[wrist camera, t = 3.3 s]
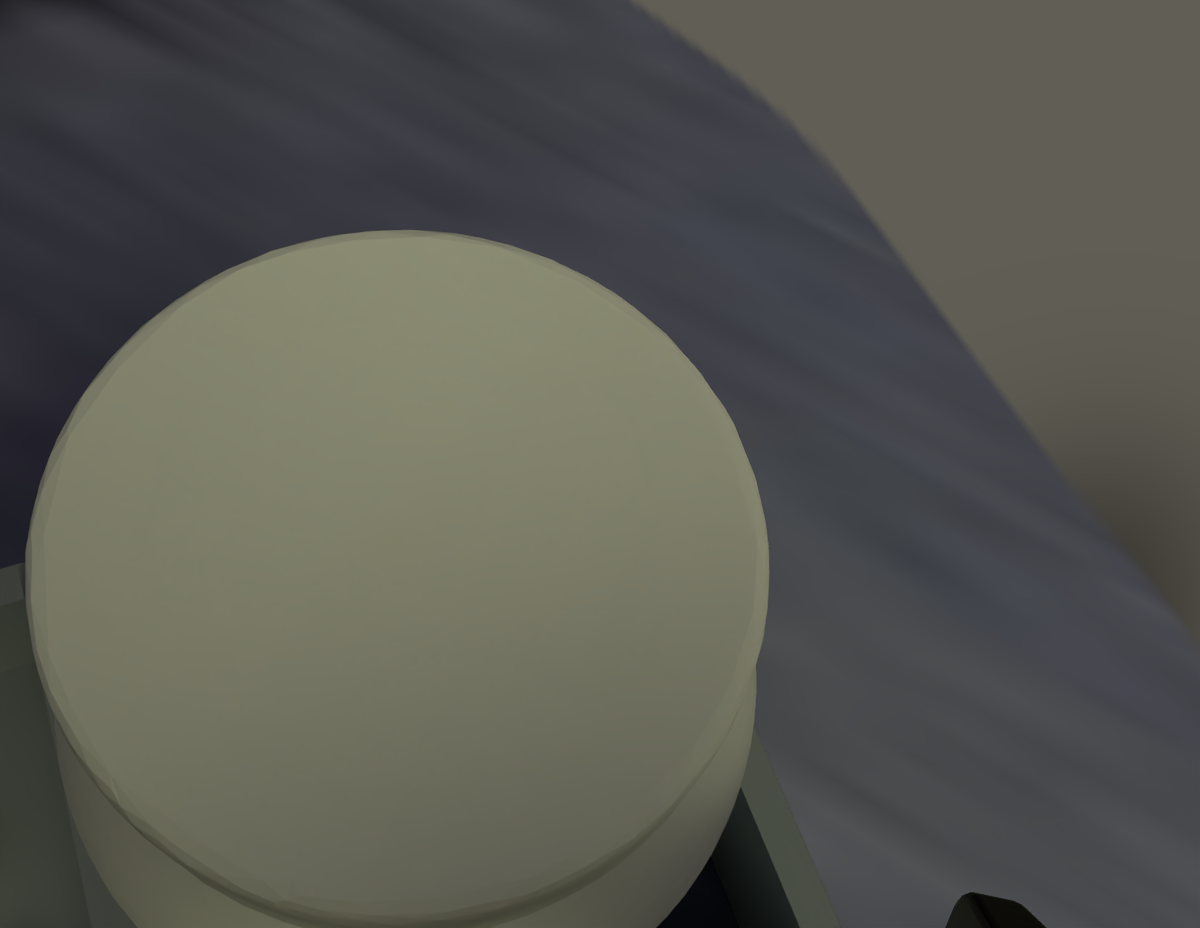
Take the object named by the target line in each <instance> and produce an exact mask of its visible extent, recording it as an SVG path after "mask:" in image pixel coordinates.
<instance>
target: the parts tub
mask: <svg viewBox="0 0 1200 928" xmlns="http://www.w3.org/2000/svg"><path fill="white" fill-rule="evenodd" d="M711 858H712V861H713V863H714V866H715V868H716V871H717V873H718V876H719V878H720V881H721V883H722V886H723V888H724V891H725V893H726V896H727V898H728V901H729V903H730V906H731V908H732V911H733V913H734V916H735V918H736V921H737V923H738V926H739V928H841V925H840V923H839V921H838V918H837V916H836V914H835V911H834V909H833V907H832V904H831V902H830V900H829V897H828V895H827V893H826V890H825V888H824V886H823V884H822V881H821V879H820V877H819V874H818V872H817V870H816V867H815V865H814V863H813V860H812V858H811V856H810V853H809V851H808V849H807V846H806V844H805V842H804V840H803V837H802V835H801V833H800V830H799V828H798V826H797V823H796V821H795V819H794V816H793V814H792V812H791V809H790V807H789V805H788V802H787V800H786V798H785V796H784V793H783V791H782V789H781V786H780V784H779V782H778V779H777V777H776V775H775V772H774V770H773V768H772V765H771V763H770V761H769V758H768V756H767V754H766V752H765V749H764V747H763V745H762V742H761V740H760V738H759V735H758V733H757V731H756V728H755V726H753V733H752V741H751V747H750V751H749V755H748V760H747V764H746V769H745V773H744V777H743V781H742V784H741V787H740V790H739V792H738V795H737V798H736V801H735V804H734V807H733V809H732V812H731V814H730V816H729V819H728V821H727V824H726V826H725V828H724V830H723V832H722V834H721V836H720V838H719V840H718V842H717V844H716V847H715V849H714V851H713V852H712V854H711ZM0 928H137V927H136V925H135V924H134V923H133V922H132V920H131V919H130V918H129V917H128V915H127V914H126V913H125V912H124V910H123V909H122V908H121V907H120V906H119V904H118V903H117V902H116V901H115V899H114V898H113V897H112V895H111V894H110V892H109V890H108V889H107V887H106V885H105V884H104V882H103V880H102V879H101V877H100V875H99V873H98V871H97V870H96V868H95V866H94V864H93V862H92V861H91V859H90V857H89V855H88V853H87V851H86V849H85V846H84V844H83V842H82V840H81V837H80V835H79V833H78V831H77V828H76V825H75V822H74V819H73V816H72V813H71V811H70V808H69V805H68V802H67V798H66V793H65V789H64V785H63V781H62V777H61V773H60V768H59V761H58V753H57V743H56V734H55V720H54V715H53V712H52V710H51V707H50V704H49V702H48V699H47V696H46V694H45V691H44V689H43V686H42V683H41V680H40V677H39V674H38V670H37V666H36V662H35V658H34V654H33V649H32V643H31V636H30V629H29V623H28V616H27V610H26V594H25V562H23V563H19V564H16V565H12V566H9V567H5V568H2V569H0Z"/></svg>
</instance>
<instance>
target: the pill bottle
mask: <svg viewBox="0 0 1200 928" xmlns="http://www.w3.org/2000/svg"><path fill="white" fill-rule="evenodd" d="M768 588H769V547H768V538H767V530H766V522H765V517H764V513H763V509H762V504H761V500H760V496H759V491H758V487H757V483H756V479H755V476H754V473H753V471H752V468H751V466H750V463H749V461H748V458H747V456H746V453H745V451H744V448H743V446H742V443H741V440H740V438H739V435H738V433H737V430H736V428H735V425H734V423H733V422H732V420H731V418H730V416H729V415H728V413H727V411H726V409H725V408H724V406H723V405H722V403H721V402H720V401H719V399H718V398H717V397H716V395H715V394H714V392H713V391H712V390H711V388H710V387H709V385H708V384H707V382H706V381H705V379H704V378H703V376H702V375H701V373H700V372H699V371H698V370H697V369H696V367H695V366H694V365H693V364H692V363H691V362H690V361H689V359H688V358H687V357H686V356H685V355H684V354H683V353H682V352H681V350H680V349H679V348H678V347H677V346H676V345H675V344H674V343H673V341H672V340H671V339H670V338H669V337H668V336H667V335H666V333H664V332H663V331H662V330H661V329H660V328H658V327H657V326H656V325H655V324H654V323H652V322H651V321H650V320H649V319H648V318H646V317H645V316H644V315H643V314H642V313H640V312H639V311H638V310H637V309H636V308H635V307H633V306H632V305H630V304H629V303H628V302H626V301H625V300H623V299H622V298H621V297H619V296H618V295H617V294H615V293H613V292H612V291H610V290H608V289H607V288H605V287H603V286H602V285H600V284H598V283H597V282H595V281H593V280H592V279H590V278H588V277H587V276H584V275H582V274H580V273H578V272H576V271H574V270H572V269H570V268H568V267H566V266H564V265H561V264H559V263H557V262H555V261H553V260H551V259H549V258H546V257H543V256H540V255H537V254H534V253H531V252H528V251H525V250H522V249H520V248H517V247H514V246H511V245H507V244H503V243H499V242H495V241H491V240H487V239H483V238H478V237H473V236H467V235H462V234H456V233H446V232H434V231H420V230H386V231H366V232H359V233H351V234H343V235H336V236H329V237H323V238H319V239H314V240H310V241H306V242H302V243H298V244H295V245H291V246H287V247H284V248H280V249H277V250H273V251H270V252H268V253H265V254H263V255H261V256H258V257H256V258H254V259H251V260H249V261H246V262H244V263H242V264H239V265H237V266H235V267H232V268H230V269H227V270H225V271H224V272H222V273H220V274H218V275H216V276H214V277H212V278H210V279H208V280H206V281H205V282H203V283H202V284H200V285H199V286H197V287H195V288H194V289H192V290H191V291H189V292H188V293H186V294H184V295H183V296H181V297H180V298H178V299H177V300H175V301H174V302H172V303H171V304H170V305H169V306H167V307H166V308H165V309H163V310H162V311H161V312H160V313H158V314H157V315H156V316H154V317H153V318H152V319H151V320H149V321H148V322H147V323H145V324H144V325H143V326H142V327H141V328H140V329H139V330H138V331H137V332H136V333H135V334H134V335H133V336H132V337H131V338H130V339H129V340H128V341H127V342H126V343H125V344H124V345H123V346H122V347H121V348H120V349H119V350H118V351H117V352H116V353H115V354H114V355H113V356H112V357H111V358H110V359H109V361H108V362H107V363H106V364H105V366H104V367H103V368H102V370H101V371H100V372H99V373H98V375H97V376H96V377H95V379H94V380H93V381H92V382H91V384H90V385H89V386H88V388H87V389H86V391H85V392H84V394H83V395H82V397H81V398H80V400H79V401H78V403H77V404H76V406H75V407H74V409H73V411H72V412H71V414H70V416H69V418H68V420H67V421H66V423H65V425H64V427H63V429H62V430H61V432H60V434H59V436H58V438H57V440H56V443H55V445H54V448H53V450H52V452H51V455H50V457H49V460H48V462H47V465H46V468H45V470H44V473H43V476H42V478H41V481H40V485H39V489H38V493H37V497H36V501H35V505H34V509H33V512H32V517H31V523H30V528H29V534H28V540H27V545H26V551H25V594H26V610H27V616H28V623H29V629H30V636H31V643H32V649H33V654H34V658H35V662H36V666H37V670H38V674H39V677H40V680H41V683H42V686H43V689H44V691H45V694H46V696H47V699H48V702H49V704H50V707H51V710H52V712H53V715H54V720H55V734H56V743H57V753H58V761H59V768H60V773H61V777H62V781H63V785H64V789H65V793H66V798H67V802H68V805H69V808H70V811H71V813H72V816H73V819H74V822H75V825H76V828H77V831H78V833H79V835H80V837H81V840H82V842H83V844H84V846H85V849H86V851H87V853H88V855H89V857H90V859H91V861H92V862H93V864H94V866H95V868H96V870H97V871H98V873H99V875H100V877H101V879H102V880H103V882H104V884H105V885H106V887H107V889H108V890H109V892H110V894H111V895H112V897H113V898H114V899H115V901H116V902H117V903H118V904H119V906H120V907H121V908H122V909H123V910H124V912H125V913H126V914H127V915H128V917H129V918H130V919H131V920H132V922H133V923H134V924H135V925H136V927H137V928H656V927H657V926H658V925H659V924H660V923H661V922H662V921H663V920H664V919H665V918H666V917H667V916H668V915H669V914H670V912H671V911H672V910H673V909H674V908H675V907H676V905H677V904H678V903H679V902H680V901H681V899H682V898H683V897H684V896H685V894H686V893H687V891H688V890H689V889H690V887H691V886H692V884H693V883H694V881H695V880H696V878H697V877H698V875H699V874H700V872H701V871H702V869H703V868H704V866H705V864H706V863H707V861H708V859H709V857H710V856H711V854H712V852H713V851H714V849H715V847H716V844H717V842H718V840H719V838H720V836H721V834H722V832H723V830H724V828H725V826H726V824H727V821H728V819H729V816H730V814H731V812H732V809H733V807H734V804H735V801H736V798H737V795H738V792H739V790H740V787H741V784H742V781H743V777H744V773H745V769H746V764H747V760H748V755H749V751H750V747H751V741H752V733H753V726H754V715H755V702H756V663H757V659H758V656H759V652H760V649H761V645H762V642H763V638H764V630H765V621H766V615H767V606H768Z"/></svg>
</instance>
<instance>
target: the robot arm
mask: <svg viewBox="0 0 1200 928" xmlns="http://www.w3.org/2000/svg"><path fill="white" fill-rule="evenodd" d="M946 928H1046V927H1045V926H1044V925H1043V924H1042V923H1041V922H1040V921H1039V920H1038V919H1037V918H1036V917H1035V916H1033V915H1032V914H1031V913H1030V912H1029V911H1028V910H1027V909H1026V908H1025V907H1024V906H1022V905H1021V904H1019V903H1017V902H1015V901H1012V900H1008V899H1003V898H998V897H993V896H989V895H984V894H979V893H974V892H970V893H968V894H965V895H963V896H962V897H961V898H960V899H959V900H958V901H957V903H956V905H955V906H954V908H953V911H952V913H951V915H950V918H949V920H948V923H947V925H946Z"/></svg>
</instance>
